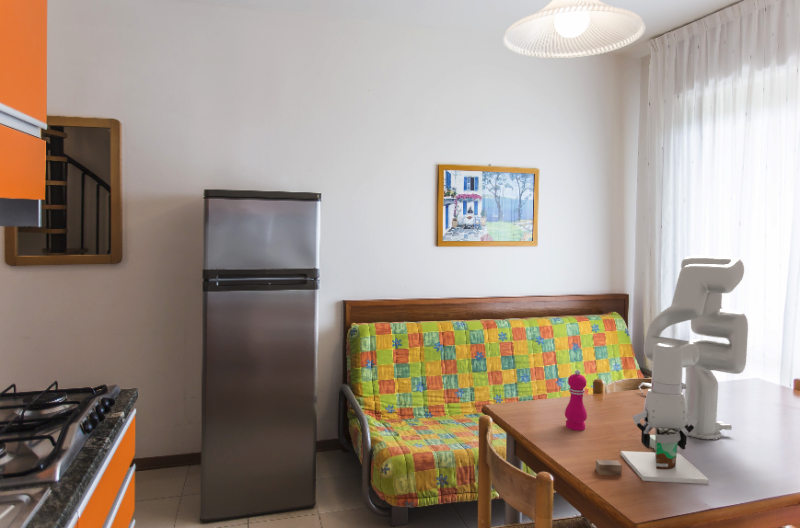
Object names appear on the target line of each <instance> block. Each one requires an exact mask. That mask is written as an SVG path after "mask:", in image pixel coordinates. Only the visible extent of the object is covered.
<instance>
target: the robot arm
mask: <svg viewBox="0 0 800 528" xmlns="http://www.w3.org/2000/svg"><path fill="white" fill-rule="evenodd" d="M680 267H681V269H680V271H679V274H678V279H677V281H676V285H675V290H674V293H673V297H672V301H671V304H670V306H669V307H667V308H665V309H664V310H662V311H661V312H660V313H659V314H658V315H656V316H655V317H654V318H653V319H652V321H651V323H649V325H648V329H647V331H646V335H645V340H644V341H643V342H644V343H643V353H644V356H645V357H646V359H647V360H650V361H652V363H651V364H652V366H651V381H650V382H651V383H650V384H651V387H650V389H648V390H647V392H646V396H645V400H644V405H643V411H641V412H639V413H637V414H634V415H632V420H633V421H634V423H635V426H637V428H638V429H639V430H640V431H641V439H640V440H641V444H642V445H643V446H644V447H645V448H646V449H650V448H651V447H650V435H651V434H650V432H651V430H652V429H655V428H666V429H678V431H679V433H680V437H681V439H680V441H678V444H677V447H679V448H680V449H681V450H686V445H687V444H688V443H687V441H688V440H687V439H688V437H687V436H689V437H692V438H696V439H700V438H701V439H702V440H709V439H713V440H717V439H716V438H719V439H721V437H722V432H721V431H722V430H725V431H731V430H732V424H730V423H723V421H717V418H718V417H717V416H718V415H717V413H718V397H719V382H718V379H717V378H716V376H715V374H714V373H713V372H712V371H714V372H715V371H716V372H721V373H727V374H731V375H732V374H734V375H735V374H737V375H738V374H741V373H744V370H745V368H746V365H747V355H748V354H747V351H748V336H749V335H748V333H749V324H748V323H749V322H748V319H747V316H746V315H745V313H743V312H742V311H738V310H733V309H723V307H722V302H723V300H722V299H723V294H730V293H731V292H733V291H734V290H735V289H736V287H738V285H739V284H740V283H741V281H742V280H743V278H744V274H745V266H744V263H743V261H742V260H741V259H740V258H737V257H729V256H709V255H692V256H686V257H684V258H683V260H682V261H681V265H680ZM687 321H690V327H691V332H693V333H694V334H696V335H699V336H703V337H709V338H710V337H711V338H716V339H717V338H718V339H725V340H727V341H728V342H722V341H716V340H709V339H703V338H702V339H700V338H698V339H696V338H694V339H691V340H685V339H678V338H673V337H672V338H670V337H664V336H661V334H662V333H663V331H664V330H666V329H667V328H668V327H670V326H673V325H677V324H679V323H683V322H687ZM684 368H685V379H684V380H685V381H684V382H685V383H683V369H684ZM683 390H684V393H683ZM642 419H643V421H644V422H643V424H642V423H641V420H642ZM652 431H653V430H652Z"/></svg>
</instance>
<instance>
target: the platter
mask: <svg viewBox="0 0 800 528" xmlns="http://www.w3.org/2000/svg"><path fill="white" fill-rule="evenodd" d="M620 456H621V457H622V458H623V459H624V460H625V462H626V463H627V464H628V465H629V466H630V468H631V469H632V470H633V471H634V472H635V473H636V474H637V476H638V477H639V478H640V479H641V480H642V481H643V482H660V483H661V482H662V483H663V482H664V483H680V484H681V483H684V484H700V485H701V484H703V485H709V484H710V483H709V482H710V480H709V478H708V477H707V476H705V475H704V473H702V472H701V471H700V470H699V469H698V468H696V467H695V466H694V465H693V464H692V463H691V462H690V461H688V460H687V459H686V458H685V457H684V456H683V455H681V454H680V453H677V455H676V466H675V467H674V468H672V469H656V458H655V452H651V451H650V452H649V451H648V452H647V451H629V450H628V451H627V450H621V451H620Z"/></svg>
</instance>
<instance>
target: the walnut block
mask: <svg viewBox="0 0 800 528" xmlns="http://www.w3.org/2000/svg"><path fill="white" fill-rule="evenodd" d="M595 471H596V472H597V474H598V475H601V476H603V475H605V476H621V477H622V476H623V475H622V471H623V465H622V464H621V462H620V461H619V460H614V459H613V460H611V459H595Z"/></svg>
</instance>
